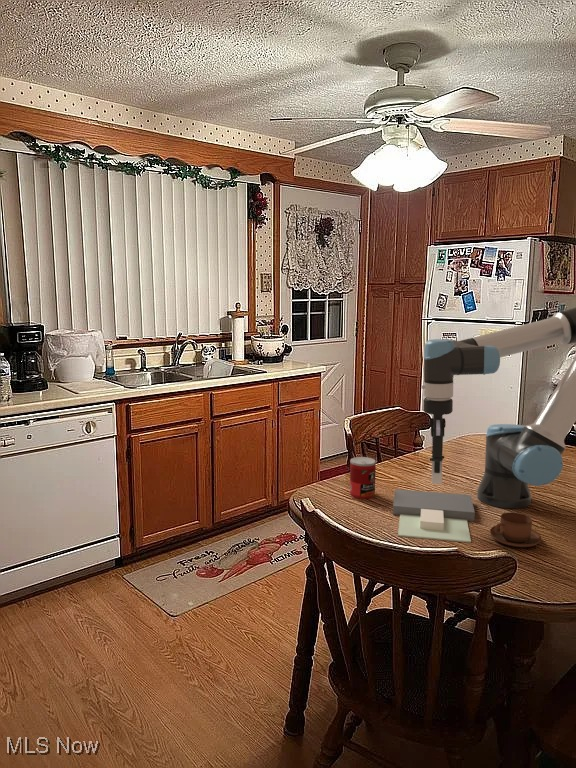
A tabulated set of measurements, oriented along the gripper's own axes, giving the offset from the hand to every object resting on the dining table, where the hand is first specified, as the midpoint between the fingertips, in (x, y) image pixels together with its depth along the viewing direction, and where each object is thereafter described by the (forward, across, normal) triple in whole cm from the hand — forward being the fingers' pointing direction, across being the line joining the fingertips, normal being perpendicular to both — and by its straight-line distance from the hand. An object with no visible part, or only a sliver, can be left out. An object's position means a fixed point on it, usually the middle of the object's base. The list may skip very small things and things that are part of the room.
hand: (436, 483), depth 157 cm
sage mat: (+11, +6, -1) cm, 12 cm away
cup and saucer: (+12, +9, +19) cm, 24 cm away
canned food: (+11, -16, -22) cm, 29 cm away
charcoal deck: (+11, -9, -1) cm, 14 cm away
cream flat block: (+10, +3, -1) cm, 11 cm away
